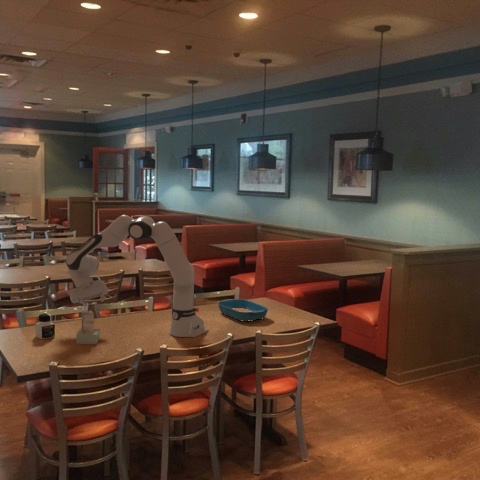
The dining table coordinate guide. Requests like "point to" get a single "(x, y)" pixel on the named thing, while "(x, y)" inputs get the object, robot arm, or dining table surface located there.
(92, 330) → the ash block
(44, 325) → the medicine bottle
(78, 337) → the riser block
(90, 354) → the dining table surface
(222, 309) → the casserole dish
